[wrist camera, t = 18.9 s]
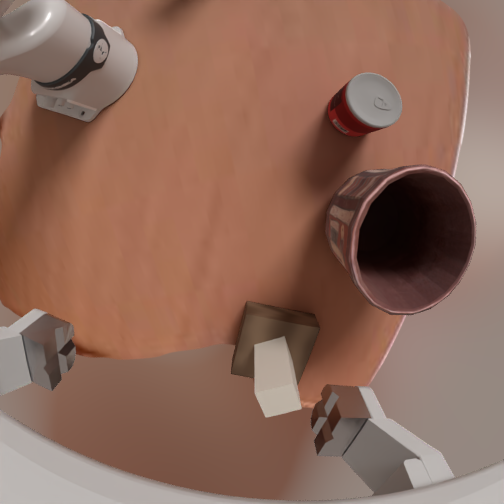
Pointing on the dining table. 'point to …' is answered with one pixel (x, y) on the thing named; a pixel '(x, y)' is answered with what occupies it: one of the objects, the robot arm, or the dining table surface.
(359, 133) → the canned food
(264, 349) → the cream block
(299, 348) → the walnut block
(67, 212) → the dining table surface
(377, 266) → the pottery
